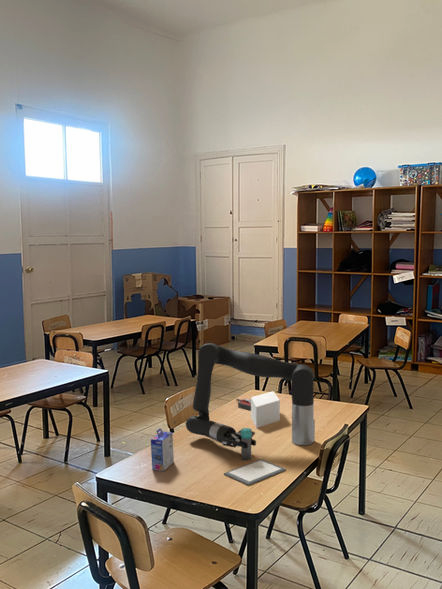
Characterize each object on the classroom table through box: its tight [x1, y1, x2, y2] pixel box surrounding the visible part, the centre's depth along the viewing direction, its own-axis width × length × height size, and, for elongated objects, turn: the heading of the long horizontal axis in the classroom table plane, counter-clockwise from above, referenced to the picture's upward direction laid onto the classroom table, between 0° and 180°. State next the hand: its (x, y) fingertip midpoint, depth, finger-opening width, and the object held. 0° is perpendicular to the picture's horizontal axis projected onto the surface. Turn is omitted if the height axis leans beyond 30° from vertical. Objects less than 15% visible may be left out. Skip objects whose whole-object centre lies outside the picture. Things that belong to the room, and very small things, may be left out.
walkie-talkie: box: [235, 398, 251, 412], centre depth 303 cm, size 9×4×20 cm
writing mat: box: [223, 458, 287, 486], centre depth 219 cm, size 20×13×1 cm, turn 132°
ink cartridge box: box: [150, 428, 175, 472], centre depth 225 cm, size 10×6×14 cm, turn 161°
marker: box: [240, 427, 253, 461], centre depth 232 cm, size 4×4×12 cm
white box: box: [250, 390, 281, 429], centre depth 282 cm, size 14×29×10 cm, turn 159°
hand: (251, 444), depth 230 cm, fingers closed on marker, 4 cm apart
